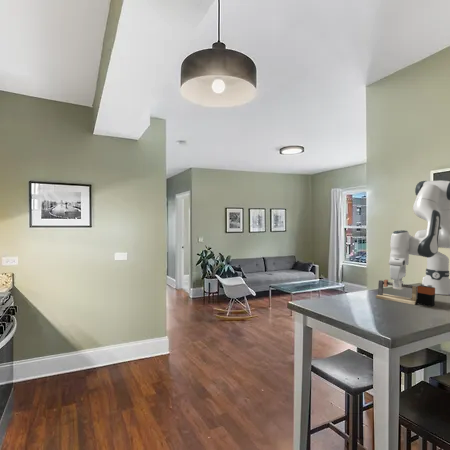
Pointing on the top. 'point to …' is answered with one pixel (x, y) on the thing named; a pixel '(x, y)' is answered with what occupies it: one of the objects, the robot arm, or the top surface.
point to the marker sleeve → (399, 285)
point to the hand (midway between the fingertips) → (397, 286)
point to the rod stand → (396, 298)
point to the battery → (426, 295)
